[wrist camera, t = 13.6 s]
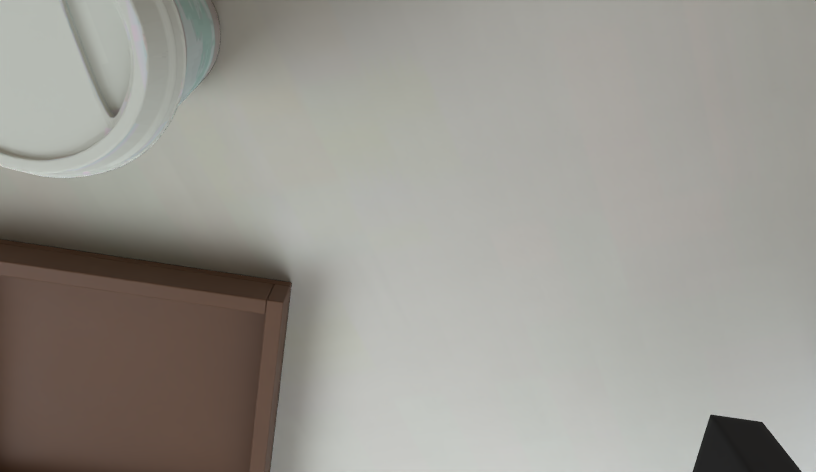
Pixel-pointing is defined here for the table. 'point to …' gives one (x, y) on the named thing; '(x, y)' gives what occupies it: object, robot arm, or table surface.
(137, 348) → the tray
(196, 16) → the coffee cup
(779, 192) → the table surface
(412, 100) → the table surface
